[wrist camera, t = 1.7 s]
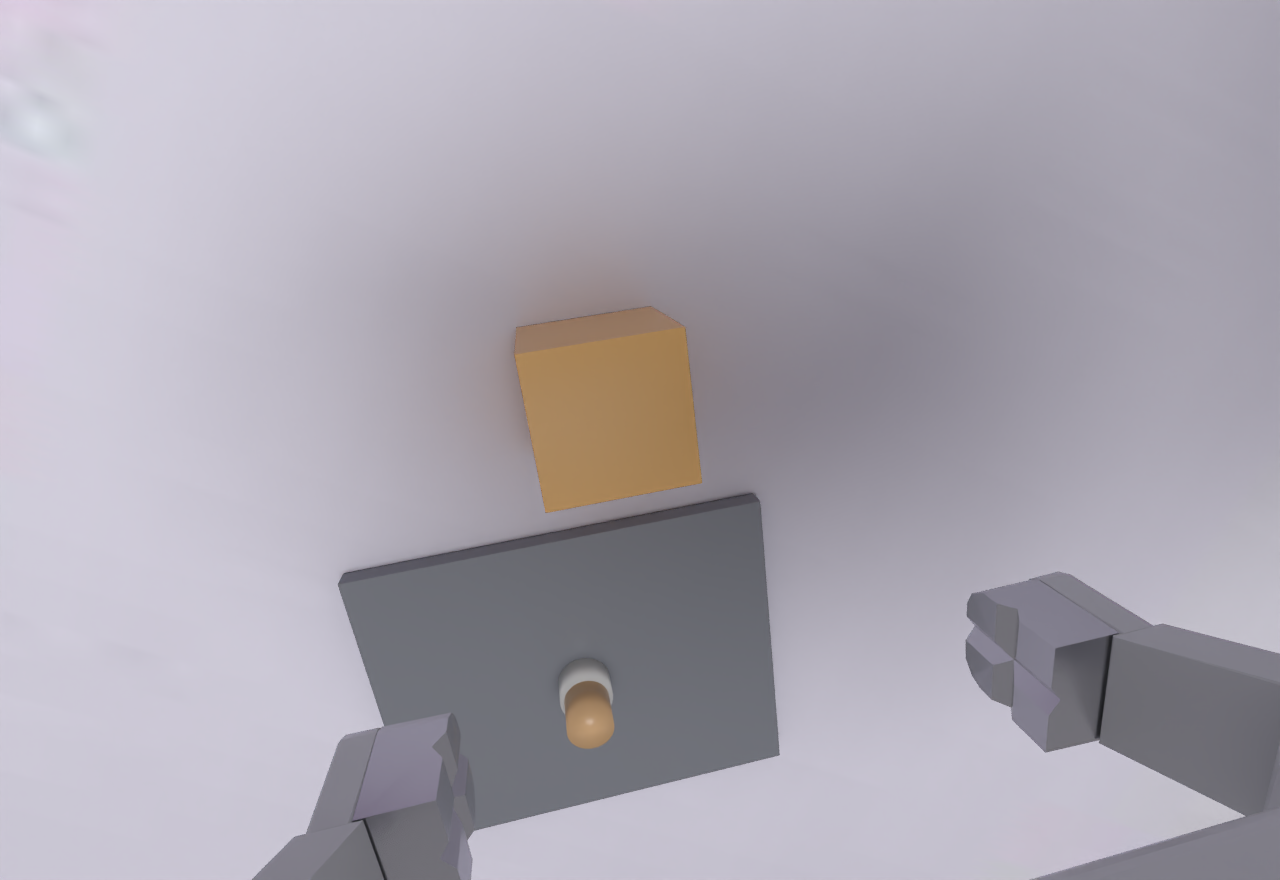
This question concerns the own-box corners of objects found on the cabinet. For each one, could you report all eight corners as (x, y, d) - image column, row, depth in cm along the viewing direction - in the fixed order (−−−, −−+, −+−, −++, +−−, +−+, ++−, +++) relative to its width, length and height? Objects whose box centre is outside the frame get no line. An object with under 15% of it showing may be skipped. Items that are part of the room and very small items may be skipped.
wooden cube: (651, 306, 29) (685, 326, 23) (666, 432, 31) (702, 482, 25) (516, 327, 28) (514, 354, 22) (541, 455, 30) (545, 512, 24)
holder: (753, 493, 33) (787, 532, 28) (773, 742, 38) (804, 806, 34) (343, 573, 30) (314, 629, 26) (425, 827, 35) (412, 907, 31)
